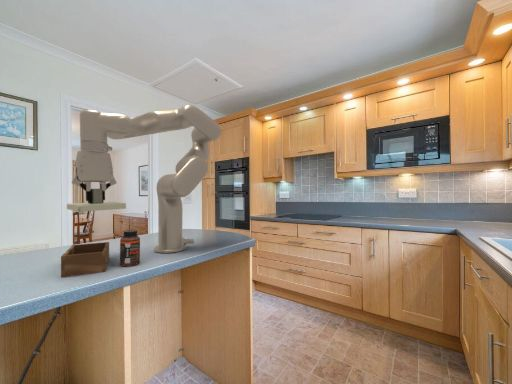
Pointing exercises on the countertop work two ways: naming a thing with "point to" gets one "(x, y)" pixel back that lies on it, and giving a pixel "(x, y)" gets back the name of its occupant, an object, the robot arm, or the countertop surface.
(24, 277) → the countertop surface
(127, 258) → the supplement bottle
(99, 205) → the lid
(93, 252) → the box
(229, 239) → the countertop surface
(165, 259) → the countertop surface
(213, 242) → the countertop surface
